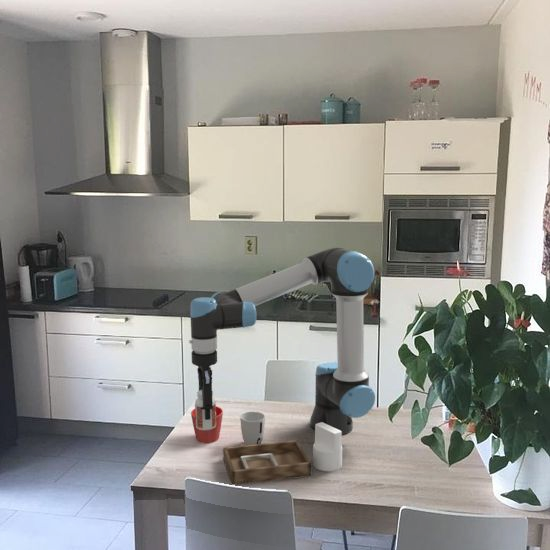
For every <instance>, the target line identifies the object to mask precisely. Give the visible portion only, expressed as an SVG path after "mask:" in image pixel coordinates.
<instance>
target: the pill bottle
mask: <svg viewBox="0 0 550 550" xmlns="http://www.w3.org/2000/svg"><path fill="white" fill-rule="evenodd" d="M196 393H197V394H196V396H197V398H196V399H195V401H194V409H195V418H196V428H197V429H199V430H203V418H202V410H201V408H200V407H203V398H202V390H200V391H199V390H198V391H197V392H196ZM216 405H217V404H216V399H215V398H214V391H213V390H212V406H213V409H212V429H213V428H215V427H216ZM204 430H211V429H204Z"/></svg>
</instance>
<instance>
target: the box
mask: <svg viewBox="0 0 550 550" xmlns="http://www.w3.org/2000/svg"><path fill="white" fill-rule="evenodd" d="M222 457H223V459H222V460H223V462H224V465H225V469H226V471H227V475H228V478H229V480H230V484H231V485H232V484H235V485H242V484H250V483H259V482H260V483H261V482H269V481H278V480H287V479H288V480H289V479H294V478H295V479H297V478H306V477H311V476H312V465H313V462H312V461H310V459H309V457H308V455H307V453H306V452H305V451H304V449H303V447H302V446H301V444H300V442H299V441H298V440H285V441H277V442H267V443H261V444H254V445H245V444H244V445H235V446H226V447H225V446H224V447H223V449H222Z"/></svg>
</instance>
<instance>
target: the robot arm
mask: <svg viewBox="0 0 550 550" xmlns="http://www.w3.org/2000/svg"><path fill="white" fill-rule="evenodd" d="M374 279H375V269H374V265H373V262H372V260H370V259H369V257H367V256H366V255H364V254H363V253H361V252H358V251H356V250H355V251H354V250H349V249H345V248H342V247H331V248H327V249H325V250H322V251H319V252H317V253H314V254H311V255H309V256H306V257H305V258H303V259H302V262H300V263H297V264H294V265H292V266H290V267H287V268H285V269H282V270H280V271H278V272H275V273H273V274H269V275H267V276H264V277H263V278H260V279H257V280H255V281H252V282H249V283H248V284H244V285H242V286H240V287H237V288H234V289H232V290H228V291H226V292H225V291H218V292H217V291H216V292H215V293H213V294H212V295H211V296H210V297H205V296H204V297H202V296H201V297H197V298H194V299H192V300H191V302H190V309H189V310H190V313H189V316H190V335H191V339H190V340H188V343H189V344H191V350H192V351H191V364H192V365H194V366H197V368H196V369H197V378H198V391H200V390H202V398H203V407H200V408H201V410H202V418H203V430H204V429H212V409H213V406H212V391H213V370H212V367H211V366H214V365H215V364H217V363H218V350H217V349H218V335H217V330H228V329H238V328H239V329H240V328H243V329H244V328H249V327H252V326H254V325H256V323H257V322H256V321H257V309H256V307H257V306H259V305H261V304H263V303H266V302H268V301H271V300H274V299H277V298H278V297H281V296H284V295H287V294H288V293H291V292H293V291H296V290H298V289H301V288H303V287H305V286H308V285H311V284H312V285H314V286H316V285H319V284H321V283H322V284H323V283H328V282H329V283H330V289H331V295H332V296H333V297H334V298H335V299H336V300H335V301H336V304H335V305H336V308H335V309H336V349H337V350H336V355H337V361H336V362H335V361H334V362H330V361H329V362H325V363H321V364H318V365H317V366H316V368H315V374H314V375H315V403H314V407H313V410H312V413H311V415H310V419H309V428H310V429H311V430H312V431H313V432H315V424H317V423H320V422H323V423H325V424H327V425H329V426H332V427H334V428H336V429H338V430H340V431H342V435H346V434H348V433H350V432H351V431H353V428H354V427H353V426H354V422H353V419H358V418H362V417H364V416H366V415H367V414H368V413H369V412H370V411H371V410H372V408H374V405H375V403H376V394H375V392H374V389H373V388H372V387H371V386H370V377H369V376H370V374H369V372H368V371H367V370H366V369H365V344H364V343H365V340H364V339H365V338H364V337H365V335H364V331H365V329H364V327H365V326H364V299H365V297H366V296H367V295H368V294H369V288H370V287H371V284H372V283H373V281H374ZM342 435H341V436H342Z"/></svg>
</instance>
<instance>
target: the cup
mask: <svg viewBox="0 0 550 550" xmlns="http://www.w3.org/2000/svg"><path fill="white" fill-rule="evenodd" d="M239 417H240V418H239V419H240V429H241V436H242V439H243V443H244V445H254V444H262V441H263V439H264V433H265V424H266V423H265V421H266V415H265V414H264V413H263V412H259V411H245V412H243V413H242V414H240V416H239Z"/></svg>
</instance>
